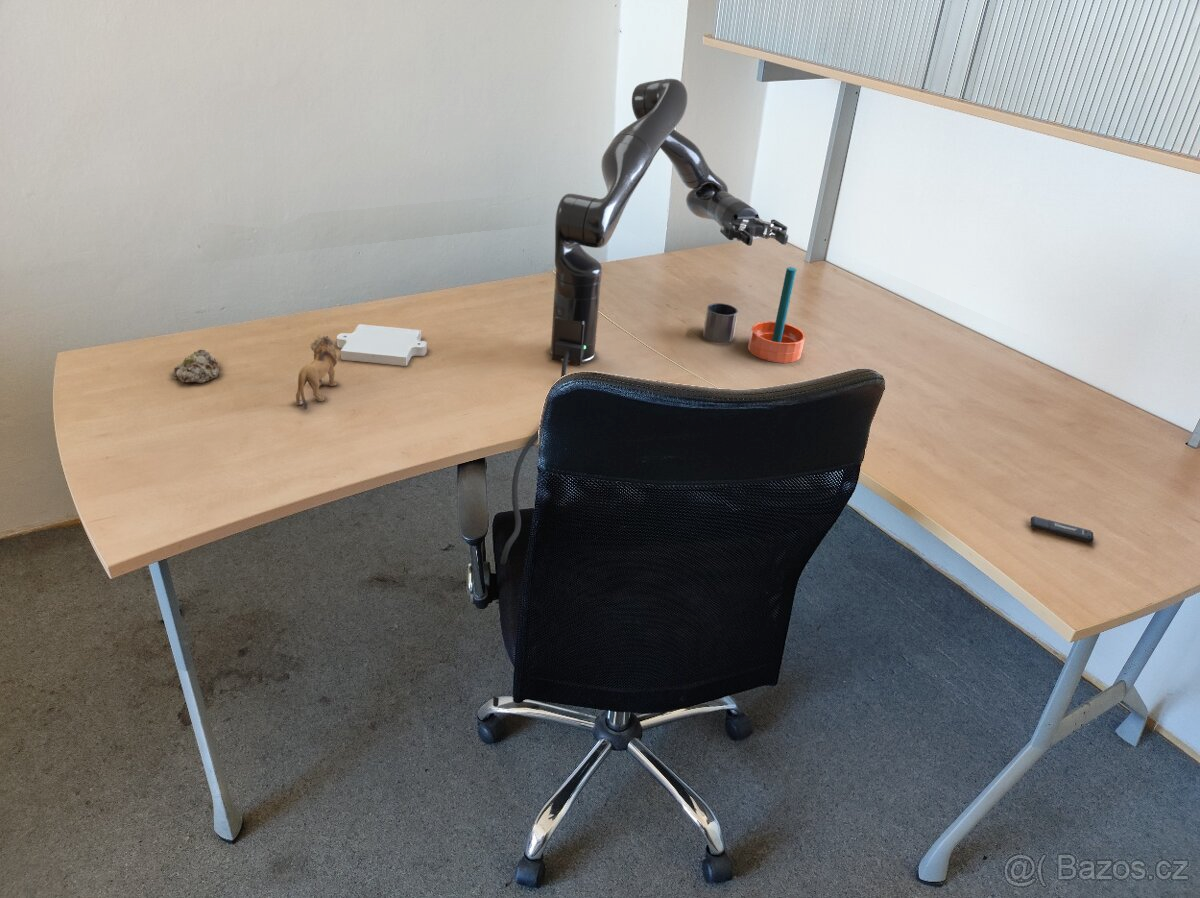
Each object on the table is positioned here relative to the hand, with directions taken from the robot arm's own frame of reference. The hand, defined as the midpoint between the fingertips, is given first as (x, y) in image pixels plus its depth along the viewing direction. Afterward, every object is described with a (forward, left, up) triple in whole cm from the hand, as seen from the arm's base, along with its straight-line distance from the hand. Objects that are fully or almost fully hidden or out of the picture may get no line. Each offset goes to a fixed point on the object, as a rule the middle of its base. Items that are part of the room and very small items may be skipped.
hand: (768, 240), depth 193 cm
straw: (-9, -6, -21) cm, 24 cm away
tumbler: (-7, +7, -22) cm, 24 cm away
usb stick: (-57, -59, -22) cm, 85 cm away
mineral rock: (-69, +95, -22) cm, 119 cm away
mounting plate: (-45, +70, -22) cm, 86 cm away
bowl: (-9, -6, -22) cm, 24 cm away
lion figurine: (-66, +72, -22) cm, 100 cm away
